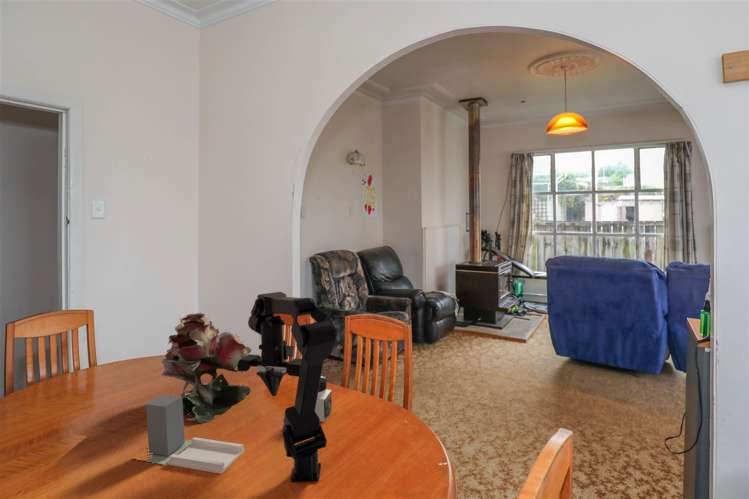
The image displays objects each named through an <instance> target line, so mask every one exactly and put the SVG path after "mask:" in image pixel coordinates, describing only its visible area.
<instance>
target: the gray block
mask: <svg viewBox="0 0 749 499" xmlns="http://www.w3.org/2000/svg"><path fill="white" fill-rule="evenodd" d="M145 410H146V425H147V427H146V428H147V439H148V440H147V441H148V447H149V453H155V454H161V455H167V456H169V455H170V454H171V453H173V452H174V451H175V450H177V449H178V448H179V447H181V446H182V445H183V444H185V440H186V438H185V424H184V423H185V422H184V414H183V403H182V397H181V395H172V394H162V395H160V396H158V397H156V398H154V399H153V400H151V401H149V402H147V403H146V404H145Z"/></svg>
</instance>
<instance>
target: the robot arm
mask: <svg viewBox="0 0 749 499" xmlns="http://www.w3.org/2000/svg"><path fill="white" fill-rule="evenodd" d="M280 315H288V316H290V317H291V318H292V325H291V328H290V332H291V335H292V336H293V338H294V341H295V344H296V348H297V350H298V351H299V353H300V355H301V358H297V357H295V358H293V357H294V350H295V345H288V344H287V341H286V340H285V339H284V325H285V324H286V323H285V320H284V319H283V318H282V317H281V316H280ZM302 316H310V317H311V318H312V319H313V320H314V321H315V322H311V323H306V324H302V325H300V323H299V321H298V319H299V317H302ZM247 324H248V327H249V329H250V330H252V331H253V332H255V333H256V334H259V336H261V337H260V340H261V343H260V344H259V345H258V350H261V356H260V355H259V354H251V353H249V354H247V355H246V356H245V357H243V358H242V359H240V360H239V361H238V364H237V367H236V369H237V370H238V372H241V371H243V372H248V371H249V370H250V369H251V367H256V368H257V372H256V376H259V377H260V379H261V380H262V382H263V383H264V385H265V387H266V388H267V389H268V391H269V394H270V395H271V396H272V397H276V396H277V394H278V391H279V388H280V385H281V382H282V379H283V377H284V375H286V374H287V375H288V376H289V377H298V379H297V385H296V386H297V387H296V388H297V389H296V394H295V399H294V405H292V406H289V407H286V408H285V411H284V418H283V420H282V422H283V426H282V428H281V432H282V433H281V436H282V440H283V446H284V450H285V453H286V454H285V456H286V457H287V458H291V459H293V470H292V474H291V477H290V482H291V483H308V482H319V481H320V477H321V469H322V464H321V462H319V450H320V449H325V448H327V442H328V441H327V438H326V435H325V432H324V430H323V428H322V425H321V424H322V423H321V422H320V419H319V417H318V415H317V414H316V412H315V408H316V402H317V396H318V391H319V385H320V379H321V376H322V374H323V373H322V372H323V367H324V362H325V360H327V358H328V357H329V356H330V355H331V354H332V352H333V351H334V347H335V344H336V342H337V337H338V332H337V328H336V326H335V324H334V323H333V320H332V319H331V316H330V315H329V313H327V312H326V311H324V310H323V309H321V308H320V307H319V306H317V305H316V302H315V300H314V299H313V298H311V297H293V296H292V297H289V296H287V294H286V293H285V292H282V291H275V292H274V291H273V292H265V293H260V294H257V296H256V299H255V300H254V304H253V306H252V308H251V311H250V317H248V321H247ZM289 358H293V359H292V360H291V361H286V360H288V359H289Z"/></svg>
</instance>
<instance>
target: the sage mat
mask: <svg viewBox="0 0 749 499" xmlns="http://www.w3.org/2000/svg"><path fill="white" fill-rule="evenodd" d="M189 445H190V446H191V445H192V439H191V440H189V439H185V444H183V445H182V446H181V447H179V448H178V449H177V450H175V451H174V452H173V453H171V454H170V455H169V456H167V455H161V454H155V453H153V454H148V455H147V456H149V455H152V458H151V456H150V457H147V458H149V459H147V460H143V459H142V461H148V462H152V463H151V464H154V463H157V464H156V465H159V464H161V465H160V466H166V465H167V464H169V462H170V456H171V455H172V454H176V455H179V454H180V452H181V453H182V452H183V451H184V449H185V450H186V449H187V448H188V447H189ZM146 452H147V453H148V451H146ZM135 459H136V458H135ZM142 461H141V462H142ZM148 462H147V463H148ZM166 463H167V464H166Z"/></svg>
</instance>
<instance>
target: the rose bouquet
mask: <svg viewBox="0 0 749 499" xmlns="http://www.w3.org/2000/svg"><path fill="white" fill-rule="evenodd" d="M174 331H175V332H176V334H172V335H169V336H168V345H169V344H171V347H170V348H169V349H166V352H167V353H166V354H165V356H164V358H163V359H162V361H161V363H162V365H163V368H164V370H163V372H162V373H161V374H160V375H161V376H162V377H163V376H164V377H169V378H174V379H176V380H177V379H178V380H181V381H184V382H185V385H184V387H183V391H182V394H181V395H180V396H181V397H182V403H183V416H187V414H189V415H188V416H187V417H190V415H191V416H192V413H194V414H195V417H191V418H186V420H187V421H191V422H195V423H199V424H200V425H203V424H206V423H210V422H212V421H214V420H215V419H217V417H216V416H219V417H220V416H222V415H224V414H225V413H226V412H227V411H229V410H230V409H231V408H232V407H233V406H234V405H235V404H237V403H239V402H241V401H242V400H243V399H245V398H246V396H247V395H248V394H249V393H251V388H250V386H248V385H246V386H245V384H243V385H240V384H236V385H235V384H229V382H228V380H227V379H226V378H225V376H224V374H223V373H220V374H219V375H218V372H217V370H225V371H229V372H233V373H238V372H239V371H238V369H237V364H238V361H239V360H240V359H242V358H243V357H245V356H247V355H248V354H251V352H252V349H251V348H250V347H249V346H246V345H245V344H244V342H245V340H244V339H241V337H240V336H239V335H238V333H234V332H231V331H223V332H221V333H220V329H219V328H215V325H214V324H213V321H211V320H210V319H209V317H208V316H207V315H206V314H205V313H202V312H199V313H198V312H196V313H189V314H186V315H185V316H184V317H183V318H179V324H178V325H176V326H175V329H174ZM240 372H241V373H244V371H240ZM203 375H209V376H211V380H210V381H209V383H207V382H206V381H207V380H205V381H204V382H202V379H201V377H202V376H203ZM189 384H190V385H192V386H193V387H192V388H193V389H192V388H190V389H192V390H190V391H188V390H189V389H187V388H188V385H189ZM186 389H187V390H186ZM185 393H191V394H188V395H186V396H185ZM191 410H192V413H191V412H190V411H191ZM209 421H210V422H209ZM202 423H203V424H202Z"/></svg>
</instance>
